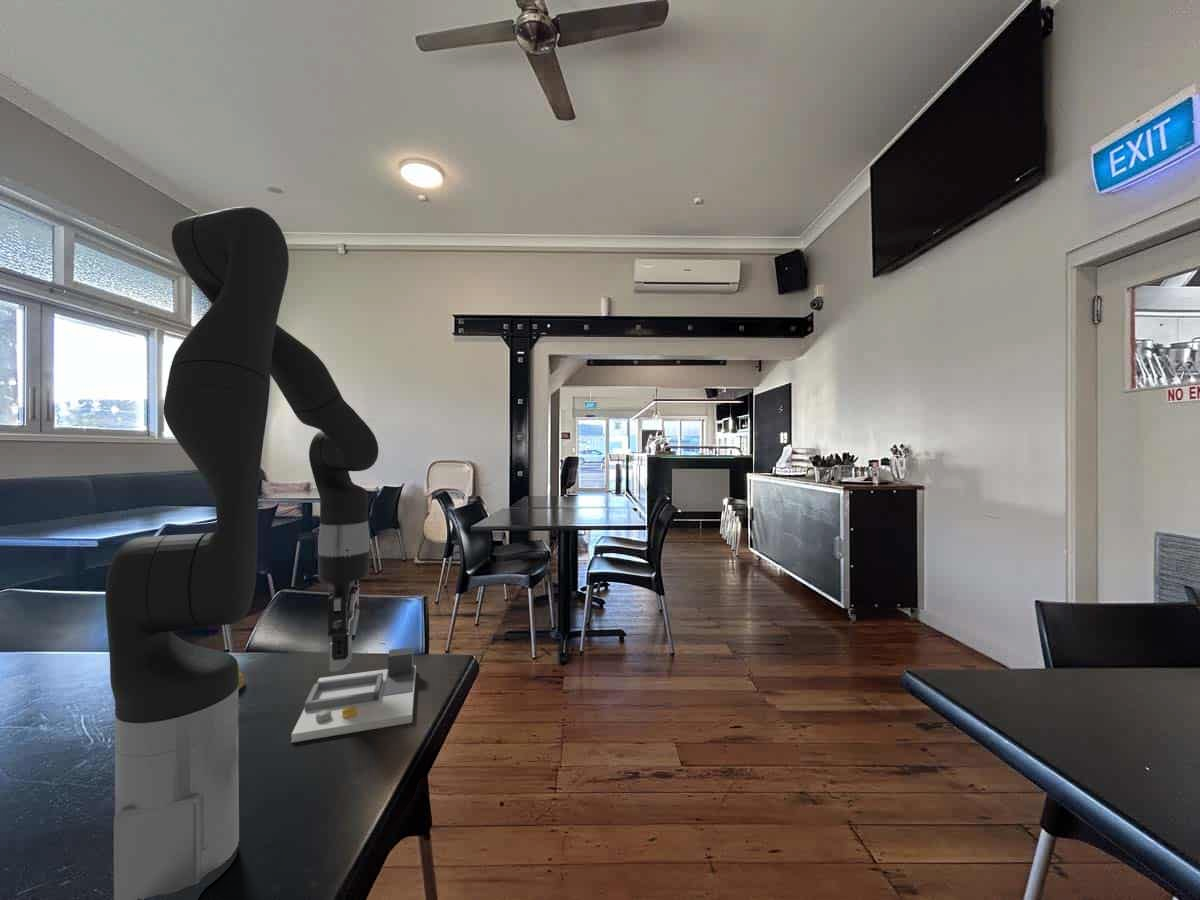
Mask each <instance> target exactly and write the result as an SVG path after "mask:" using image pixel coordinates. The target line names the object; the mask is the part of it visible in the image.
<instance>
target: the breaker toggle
mask: <svg viewBox="0 0 1200 900" xmlns="http://www.w3.org/2000/svg"><path fill="white" fill-rule="evenodd" d="M413 662H414V647H406V648H405V647H404V648H396V649H395V648H394V649H389V651H388V656H387V669H388V676H395V675H402V674H409V673H412V670H413V666H414V663H413Z"/></svg>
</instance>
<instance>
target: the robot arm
mask: <svg viewBox="0 0 1200 900" xmlns="http://www.w3.org/2000/svg"><path fill="white" fill-rule="evenodd" d="M171 243H172V247H173V250H174V253H175V255H176V257H177V259H178V261H179V263H180V264H181V266H182V268H183V269H184V271H185V272H186V273H187V275H188V276H189V278H190V279H191V280H192V281H193V282H194V284H195V285H196V287H197V288H198V289H199V290H200V291H201V293H202V294H203V295H204V296H205V297H206V299H207V300H208V301H209V302H210V303H211V306H210V307H209V309H208V310H207V311H206V312H205V313H204V315H203V316H202V317H201V318H200V319H199V320H198V322H197V323H196V324H195V325H194V326H193V328H192V329H190V331H189V332H188V334H187V335H186V336H185V338H184V339H183V340H182V342H181V343H180V345H179V347H178V348H177V349H176V351H175V353H174V355H173V358H172V361H171V365H170V368H169V373H168V378H167V383H166V384H167V385H166V391H165V396H164V401H163V415H164V420H165V421H166V422H165V423H166V424H167V427H168V428H169V430H170V432H171V433H172V435H173V437H174V438H175V440H176V441H177V443H178V444H179V445H180V447H181V449H182V450H183V451H184V453H186V455H187V457H188V458H189V459H190V461H191V462H192V463H193V464H194V466H195V467H196V468H197V470H198V471H199V473H200V475H201V476H202V477H203V479H204V482H205V483H206V486H207V487H208V489H209V491H210V493H211V497H213V501H214V506H215V513H216V526H215V531H213V532H206V533H205V532H203V533H187V534H186V533H185V534H184V533H183V534H170V535H168V534H167V535H155V536H154V535H151V536H140V537H136V538H133V539H130V540H127V541H126V542H124V543H123V544H122V545H121V546H120V547H119V548H118V549H117V551H115V553H114V555H113V557H112V560H111V561H110V563H109V567H108V571H107V574H106V580H105V595H104V597H105V600H104V601H105V602H104V603H105V616H106V617H105V618H106V619H105V620H106V628H107V629H106V630H107V639H108V651H109V654H108V655H109V677H110V678H109V679H110V687H111V692H112V695H113V698H114V699H113V700H114V714H115V715H114V717H115V718H114V725H115V728H114V729H115V731H114V732H115V733H114V734H115V736H114V737H115V739H114V741H115V743H114V745H115V746H114V755H115V756H114V790H115V792H114V794H115V795H114V799H115V800H114V801H115V802H114V803H115V804H114V810H115V811H114V815H115V816H114V818H113V900H137V899H145V898H148V897H152V896H156V895H161V894H168V893H169V894H170V893H172V892H176V891H179V890H181V889H183V888H185V887H187V886H191V885H195V884H198V883H199V882H200V881H201V879H202V878H203V877H204V876H206V874H208V873H209V872H211V871H212V870H214V869H216V868H218V867H219V866H221V865H222V864H223V863H225V861H226V860H228V859H229V858H230V857H231V856H232V854H233V853H234V851H235V850H236V848H237V846H238V842H239V843H240V811H239V810H240V807H239V804H240V802H239V799H240V798H239V797H240V795H239V788H240V786H239V783H240V782H239V775H240V774H239V690H238V684H239V670H240V669H239V663H238V660H237V658H236V657H235V656H233V655H232V654H231V653H228V652H226V651H222V650H218V649H213V648H208V647H203V646H199V645H196V644H193V643H189V642H188V641H185V640H184V639H182V638H180V637H178V636H177V635H176V634H175V633H174V632H179V631H187V630H196V629H204V628H211V627H220V626H228V625H233V624H236V623H238V622H240V621H242V620H243V619H244V618H245V616H246V615H247V614H248V612H249V610H250V608H251V607H252V603H253V599H254V595H255V590H256V584H257V583H256V582H257V574H258V572H257V570H258V539H259V538H258V536H259V535H258V534H259V533H258V531H259V530H258V529H259V528H258V527H259V526H258V524H259V492H260V491H259V488H260V473H261V472H260V471H261V465H262V455H263V448H264V439H265V432H266V426H267V418H268V412H269V411H268V410H269V400H270V389H271V377H272V379H273V380H274V382H275V384H276V386H277V387H278V389H279V390H280V392H281V394H282V395H283V397H284V398H285V401H287V403H288V406H289V407H290V409H291V410H292V411H293V413H294V414H295V417H296V418H297V419H298V420H299V422H301V423H302V424H304V425H306V426H308V427H312V428H314V429H317V430H319V431H318V432H317V433H316V434H315V435H314V436H313V438H312V440H311V442H310V444H309V449H308V457H309V463H310V468H311V471H312V472H311V473H312V475H313V479H314V483H315V486H316V489H317V493H318V496H319V499H320V500H319V501H320V502H319V531H318V538H317V542H318V543H317V547H318V548H317V549H318V551H317V559H318V560H317V563H318V565H317V567H318V568H317V573H318V574H317V578H318V580H319V582H322V583H325V584H332V585H333V588H332V590H331V592H329V594H328V600H327V605H328V608H327V609H328V610H327V612H328V613H327V614H328V615H327V616H328V620H327V621H328V625H327V626H328V627H327V628H328V629H327V630H328V631H327V635H328V637H329V638H331V642H332V659H333V660H341V659H346V658H347V657H348V654H349V633H350V629H349V625H350V621H351V620H352V619H353V618H354V608H357V609H359V606H360V605H359V603H360V601H359V600H360V599H359V595H360V586H359V581H361V580H364V579H365V578H366V577H368V576H369V575H370V573H371V572H370V571H371V570H370V569H371V567H370V563H371V562H370V559H371V558H370V556H371V555H370V552H371V551H370V550H371V548H370V547H371V546H370V543H371V542H370V538H371V537H370V536H371V535H370V527H369V495H368V491H367V490H366V488H364V487H362V486H361V485H359V484H358V485H357V484H355V483H354V482H353V481H352V478H351V475H350V473H349V472H362V471H366V470H368V469H370V468H372V467H373V466H374V465H375V464H376V461H377V460H378V456H379V444H378V440H377V438H376V435H375V434H374V432H373V431H372V429H371V428H370V427H369V425H368V424H367V423H366V422H365V421H364V420H363V419H362V418H361V417H360V416H359V414H358V413H357V412H356V411H355V409H353V407H351V406H350V405H349V404H348V403H347V402H346V400H345V399H344V398H343V396H342V394H341V392H340V390H339V388H338V386H337V384H336V383H335V380H334V379H333V377H332V375H331V374H330V371H329V370H328V368H327V367H326V365H325V363H324V362H323V361H322V360H321V359H320V357H319V356H318V355H317V354H315V353H314V351H312V349H310V348H309V347H308V346H307V345H305V344H304V343H303V342H301V341H300V340H298V338H296V337H294V336H293V335H291V334H290V333H289V332H288V331H286V330H285V329H284V328H283V327H281V326H280V325H279V324H277V323H278V322H277V321H278V317H279V312H280V308H281V303H282V300H283V295H284V292H285V287H286V283H287V279H288V273H289V266H290V265H289V263H290V261H289V260H290V258H289V257H290V256H289V249H288V244H287V241H286V237H285V235H284V234H283V231H282V229H281V227H280V225H279V224H278V223H277V221H276V220H275V219H274V217H272V216H271V215H270V214H269V213H267V212H266V211H264V210H262V209H259V208H257V207H254V206H234V207H228V208H224V209H219V210H215V211H210V212H206V213H202V214H197V215H193V216H189V217H186V218H182V219H180V220H178V221H177V222H176V223H175V224H174V226H173V228H172V231H171ZM347 613H348V614H347ZM339 622H340V627H337V623H339ZM355 639H356V634H355V635H352V641H354V640H355Z"/></svg>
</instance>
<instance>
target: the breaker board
mask: <svg viewBox="0 0 1200 900" xmlns="http://www.w3.org/2000/svg"><path fill="white" fill-rule="evenodd" d="M416 675H417V666H416V664H415V665H413V670H412V673H409V674H402V675H395V676H388V668H385V669H379V670H371V671H370V670H369V671H362V672H355V673H348V674H342V675H341V674H340V675H332V676H325V677H319V678H318V679H317V681H315V682H314V684H313V686H312V689H311V690H310V692H309V695H308V696H307V698H306V700H305V703H304V707H303V710H302V712H301V714H300V716H299V718H298V720H297V722H296V724H295V726H294V729H293V730H292V732H291V735H290V736H291V738H290V739H291V742H290V743H291V744H292V743H299V742H303V741H309V740H315V739H316V740H317V739H322V738H328V737H333V736H339V735H346V734H351V733H359V732H362V731H368V730H369V731H370V730H374V729H375V730H376V729H383V728H387V727H388V728H389V727H393V726H399V725H406V724H411V723H413V715H414V714H413V713H414V703H415V687H416Z"/></svg>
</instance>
